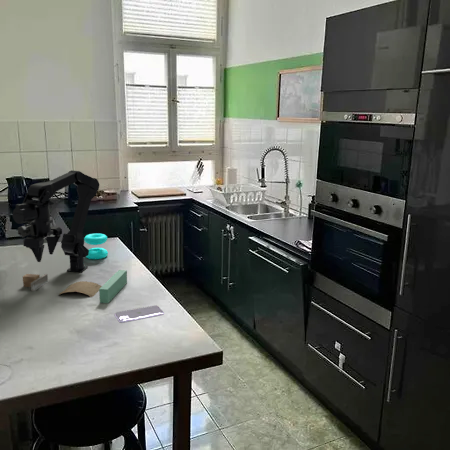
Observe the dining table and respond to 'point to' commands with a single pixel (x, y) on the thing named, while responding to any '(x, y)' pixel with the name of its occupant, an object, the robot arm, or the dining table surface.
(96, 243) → the donuts
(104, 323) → the dining table surface
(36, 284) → the tan block on bar
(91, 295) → the clay tablet
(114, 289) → the bar
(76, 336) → the dining table surface
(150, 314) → the mobile phone
